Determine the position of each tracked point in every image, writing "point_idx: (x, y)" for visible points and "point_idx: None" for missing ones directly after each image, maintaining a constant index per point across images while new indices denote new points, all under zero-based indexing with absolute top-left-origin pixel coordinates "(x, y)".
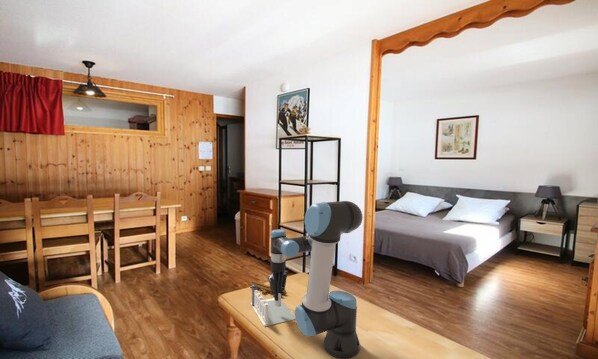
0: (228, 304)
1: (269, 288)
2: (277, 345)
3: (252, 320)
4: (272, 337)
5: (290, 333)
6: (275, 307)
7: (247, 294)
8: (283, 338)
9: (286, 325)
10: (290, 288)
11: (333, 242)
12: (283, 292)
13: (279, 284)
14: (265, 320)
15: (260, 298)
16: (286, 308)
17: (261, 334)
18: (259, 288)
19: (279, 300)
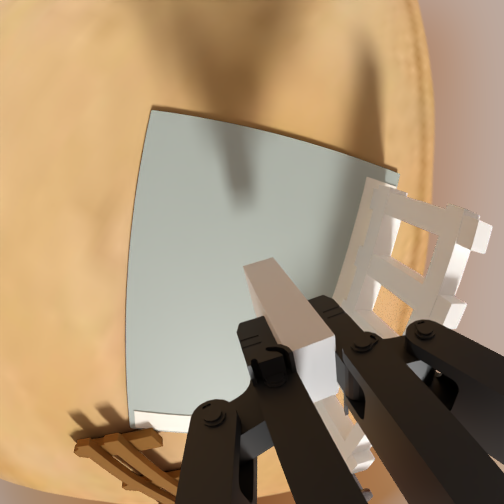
0: None
1: (154, 486)
2: (410, 3)
3: None
4: (407, 59)
5: (307, 6)
6: (208, 345)
7: (264, 477)
8: (366, 8)
9: (276, 85)
10: (44, 448)
11: None
12: (92, 442)
13: (357, 501)
14: (402, 191)
15: None
16: (140, 296)
17: (434, 123)
18: None
19: (289, 290)
